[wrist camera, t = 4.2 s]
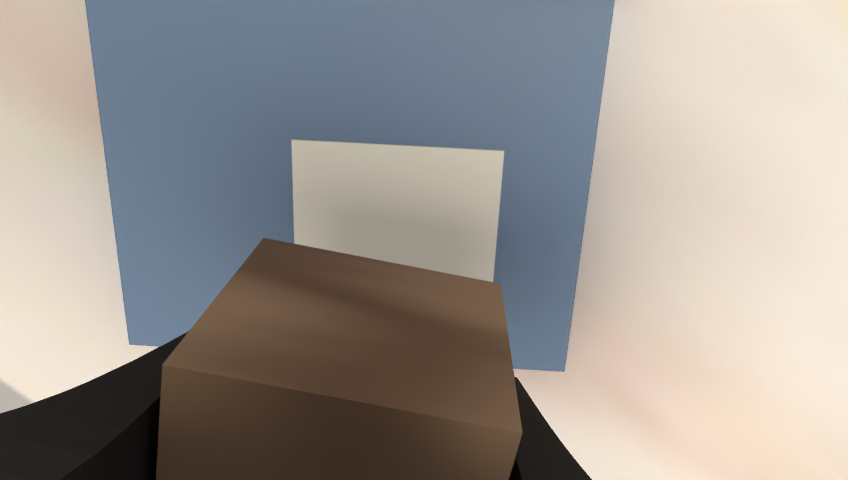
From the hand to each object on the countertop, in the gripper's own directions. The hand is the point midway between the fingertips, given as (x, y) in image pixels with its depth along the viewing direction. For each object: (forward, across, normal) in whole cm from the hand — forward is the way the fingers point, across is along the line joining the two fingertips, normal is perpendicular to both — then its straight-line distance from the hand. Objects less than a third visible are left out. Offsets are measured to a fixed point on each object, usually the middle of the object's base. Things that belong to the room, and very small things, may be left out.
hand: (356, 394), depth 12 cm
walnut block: (+1, 0, 0) cm, 1 cm away
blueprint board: (+9, +2, -5) cm, 10 cm away
